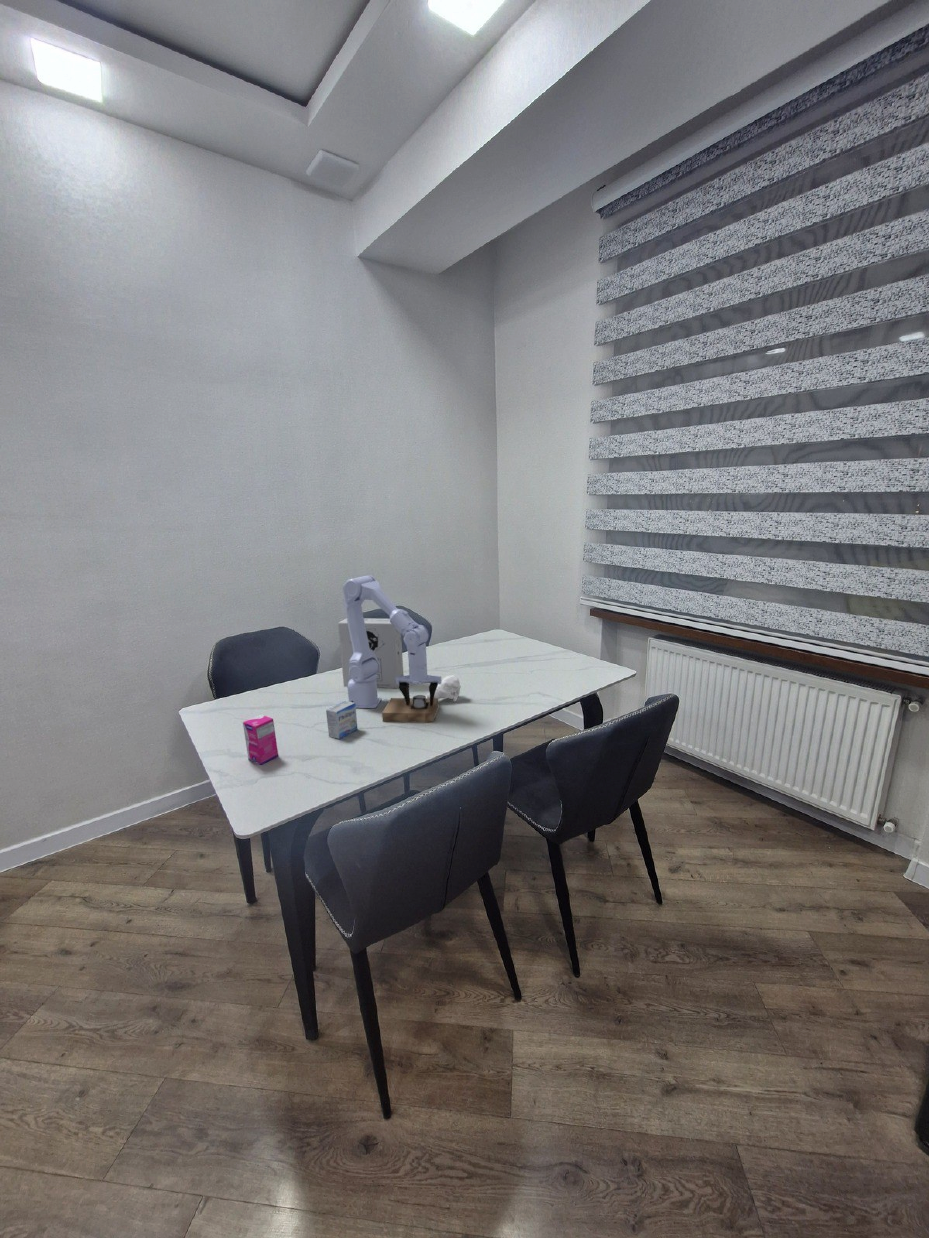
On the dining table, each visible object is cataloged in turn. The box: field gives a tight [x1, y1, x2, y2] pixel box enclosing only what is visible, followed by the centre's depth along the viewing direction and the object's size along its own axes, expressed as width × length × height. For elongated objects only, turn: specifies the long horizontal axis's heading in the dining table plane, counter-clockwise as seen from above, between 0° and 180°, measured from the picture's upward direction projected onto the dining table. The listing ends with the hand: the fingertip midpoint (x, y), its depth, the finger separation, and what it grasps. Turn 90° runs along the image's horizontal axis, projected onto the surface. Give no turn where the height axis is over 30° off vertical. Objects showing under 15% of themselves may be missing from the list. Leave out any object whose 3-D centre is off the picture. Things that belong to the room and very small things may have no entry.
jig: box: [381, 697, 439, 723], centre depth 160 cm, size 16×12×3 cm
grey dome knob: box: [412, 694, 427, 709], centre depth 159 cm, size 4×4×6 cm
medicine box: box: [325, 700, 358, 740], centre depth 147 cm, size 8×4×9 cm, turn 148°
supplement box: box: [242, 713, 279, 766], centre depth 133 cm, size 6×6×12 cm
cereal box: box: [337, 617, 405, 689], centre depth 185 cm, size 22×8×25 cm, turn 80°
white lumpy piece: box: [426, 674, 462, 703], centre depth 169 cm, size 6×8×12 cm
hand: (420, 704), depth 159 cm, fingers open, 7 cm apart
